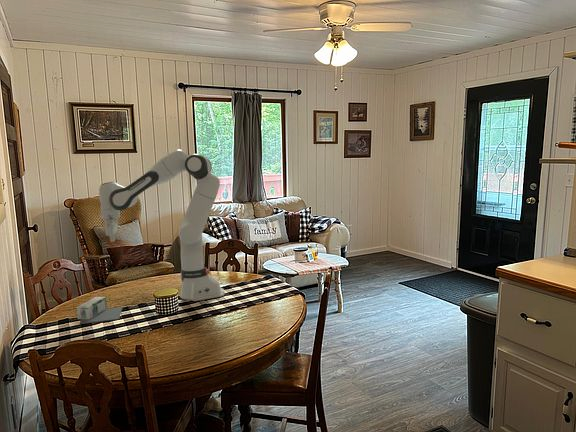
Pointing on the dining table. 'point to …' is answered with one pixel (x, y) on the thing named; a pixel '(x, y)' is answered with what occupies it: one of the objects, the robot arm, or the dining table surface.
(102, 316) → the mat
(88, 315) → the syrup box
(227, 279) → the dining table surface
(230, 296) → the dining table surface
